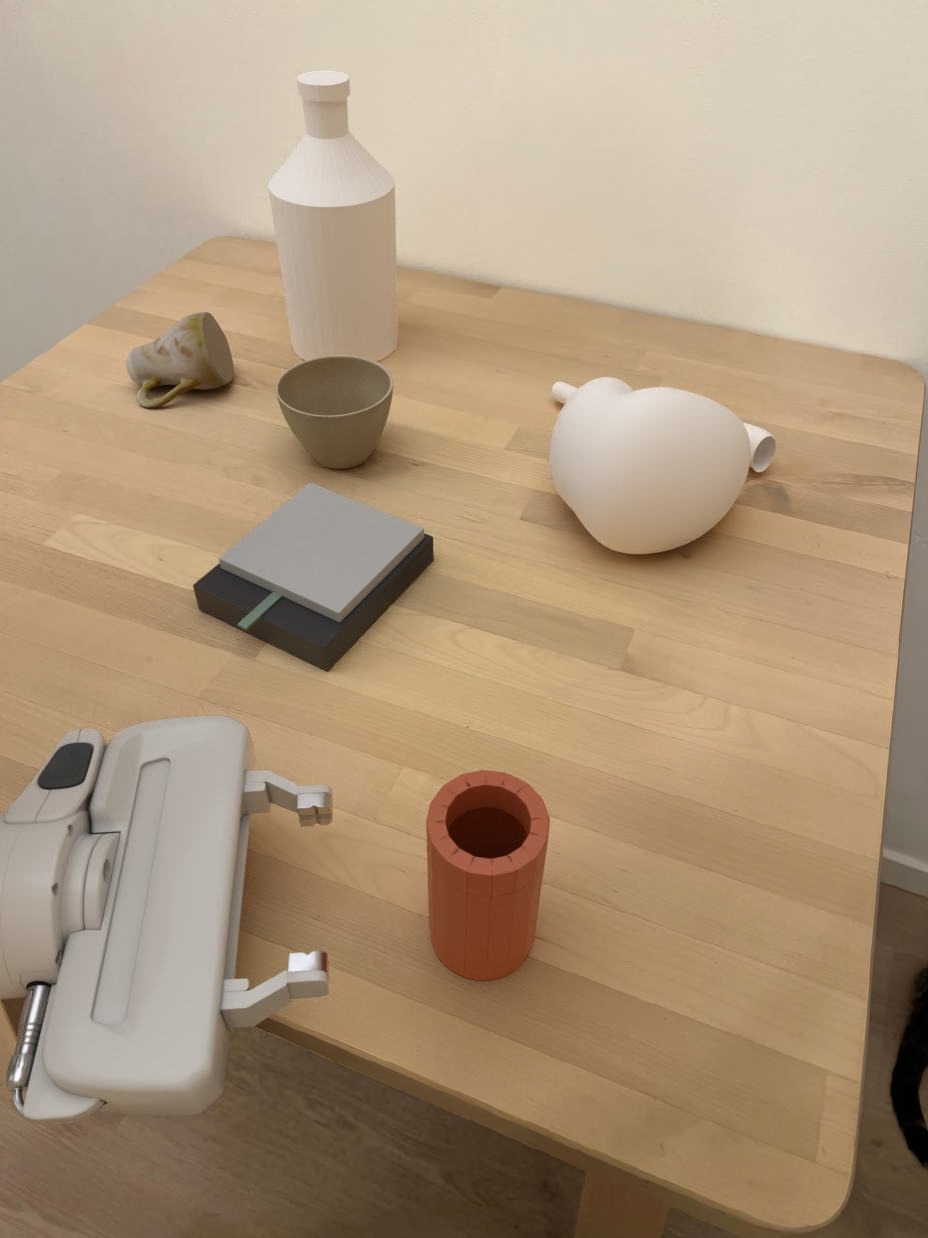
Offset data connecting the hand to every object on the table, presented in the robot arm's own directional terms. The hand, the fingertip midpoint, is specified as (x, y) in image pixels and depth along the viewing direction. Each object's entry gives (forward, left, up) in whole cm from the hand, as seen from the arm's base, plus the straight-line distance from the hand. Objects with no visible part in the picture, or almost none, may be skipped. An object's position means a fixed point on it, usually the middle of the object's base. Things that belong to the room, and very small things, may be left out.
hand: (330, 883), depth 47 cm
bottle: (-40, +54, -6) cm, 68 cm away
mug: (-48, +38, -6) cm, 62 cm away
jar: (+6, +4, -6) cm, 10 cm away
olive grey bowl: (-28, +37, -6) cm, 47 cm away
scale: (-19, +22, -6) cm, 30 cm away
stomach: (-4, +46, -6) cm, 47 cm away
